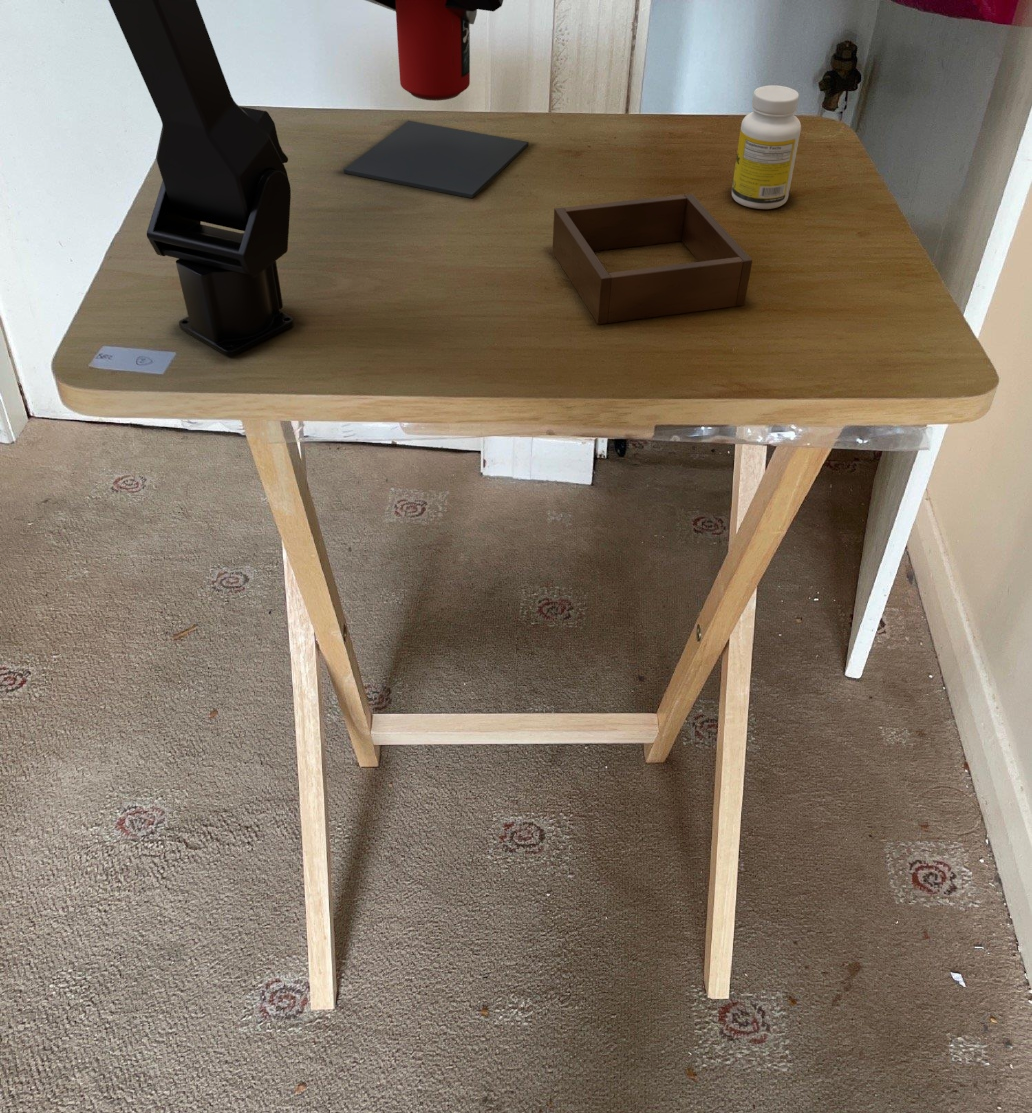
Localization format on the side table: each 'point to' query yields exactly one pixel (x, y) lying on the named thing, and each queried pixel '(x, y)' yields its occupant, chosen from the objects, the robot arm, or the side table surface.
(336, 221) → the side table surface
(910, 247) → the side table surface
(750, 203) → the supplement bottle
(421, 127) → the mat
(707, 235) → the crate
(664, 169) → the side table surface
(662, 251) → the side table surface
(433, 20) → the beverage can
